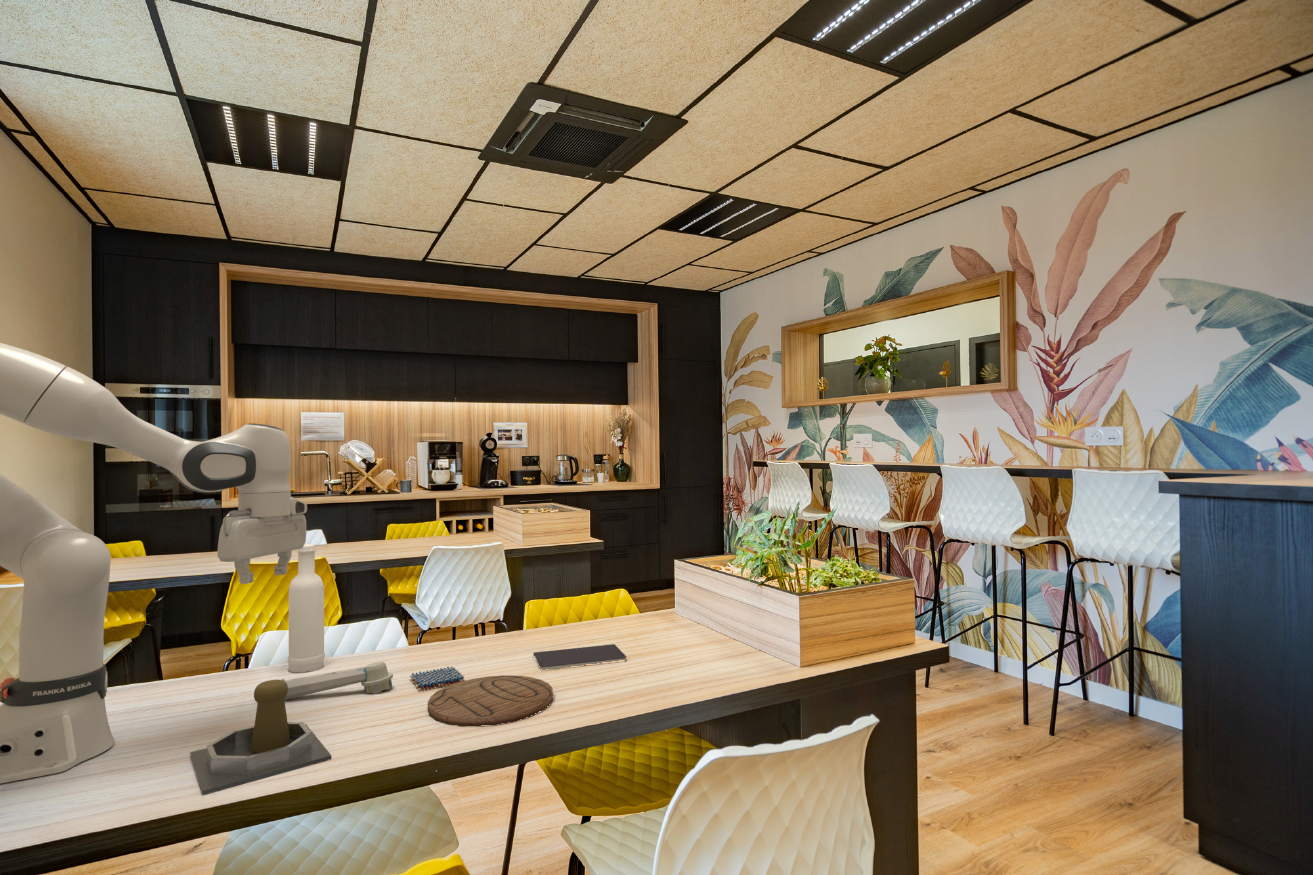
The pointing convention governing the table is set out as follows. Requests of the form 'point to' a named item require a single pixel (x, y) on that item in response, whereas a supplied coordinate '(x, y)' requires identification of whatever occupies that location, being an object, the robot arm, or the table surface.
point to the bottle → (306, 615)
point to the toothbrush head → (342, 680)
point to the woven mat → (436, 678)
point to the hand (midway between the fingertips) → (264, 578)
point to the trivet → (490, 700)
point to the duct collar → (253, 758)
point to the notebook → (578, 656)
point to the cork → (270, 717)
